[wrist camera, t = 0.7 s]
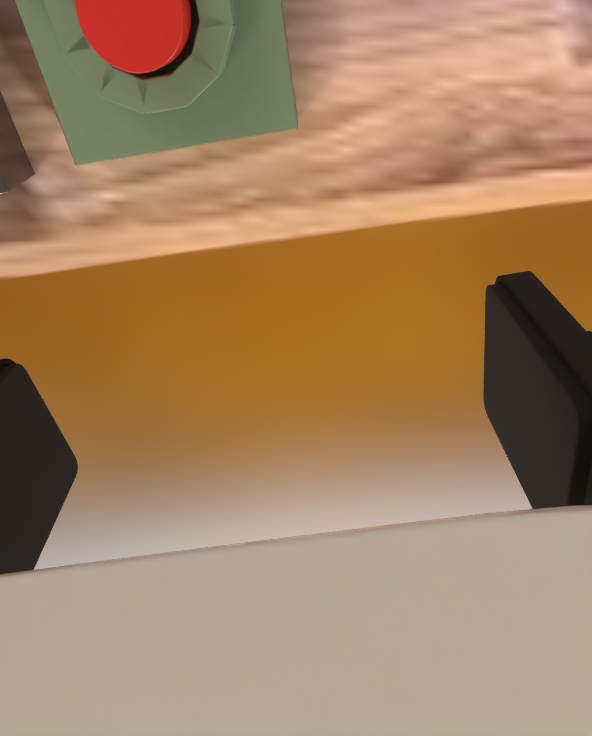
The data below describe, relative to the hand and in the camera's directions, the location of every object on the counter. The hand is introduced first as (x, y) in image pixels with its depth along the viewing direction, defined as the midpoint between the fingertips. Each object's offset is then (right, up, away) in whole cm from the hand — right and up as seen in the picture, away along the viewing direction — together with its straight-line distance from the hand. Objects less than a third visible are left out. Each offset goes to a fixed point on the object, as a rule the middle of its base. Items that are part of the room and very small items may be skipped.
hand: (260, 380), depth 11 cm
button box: (-5, +15, +11) cm, 20 cm away
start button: (-5, +13, +9) cm, 16 cm away
